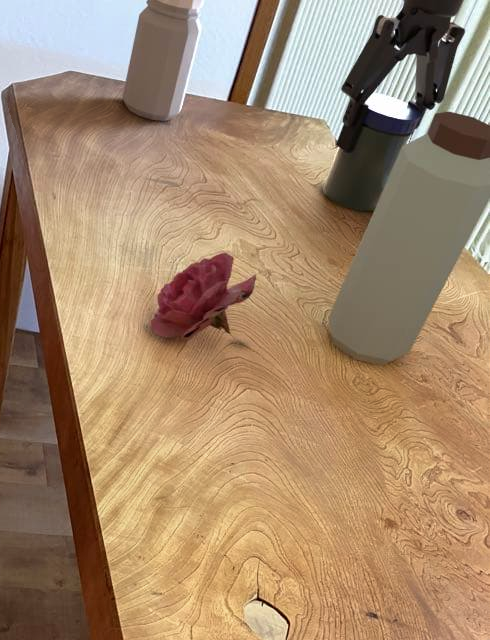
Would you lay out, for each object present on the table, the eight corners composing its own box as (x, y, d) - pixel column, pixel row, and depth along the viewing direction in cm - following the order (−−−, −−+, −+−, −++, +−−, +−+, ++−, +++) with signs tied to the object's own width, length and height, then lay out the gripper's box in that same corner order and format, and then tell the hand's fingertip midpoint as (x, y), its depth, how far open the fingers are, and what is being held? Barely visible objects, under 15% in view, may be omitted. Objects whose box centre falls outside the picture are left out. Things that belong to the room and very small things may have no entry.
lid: (389, 107, 132) (394, 94, 130) (427, 134, 126) (433, 121, 125) (339, 105, 128) (344, 91, 127) (376, 132, 122) (382, 118, 121)
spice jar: (391, 211, 134) (430, 125, 125) (344, 211, 130) (380, 124, 122) (357, 183, 139) (392, 99, 131) (311, 183, 136) (343, 97, 127)
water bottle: (307, 320, 105) (398, 100, 88) (377, 320, 109) (478, 108, 91) (348, 370, 99) (455, 144, 82) (421, 368, 102) (539, 151, 85)
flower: (138, 363, 98) (125, 269, 95) (198, 348, 104) (186, 259, 102) (218, 357, 90) (205, 253, 87) (278, 341, 96) (268, 244, 93)
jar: (191, 122, 145) (223, -2, 132) (141, 123, 140) (170, -5, 127) (158, 97, 150) (186, -24, 137) (109, 98, 145) (134, -28, 133)
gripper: (486, -27, 121) (412, 139, 137) (358, -44, 112) (295, 136, 128) (523, -8, 116) (442, 162, 132) (393, -24, 108) (323, 159, 123)
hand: (370, 149), depth 130 cm, fingers open, 9 cm apart
